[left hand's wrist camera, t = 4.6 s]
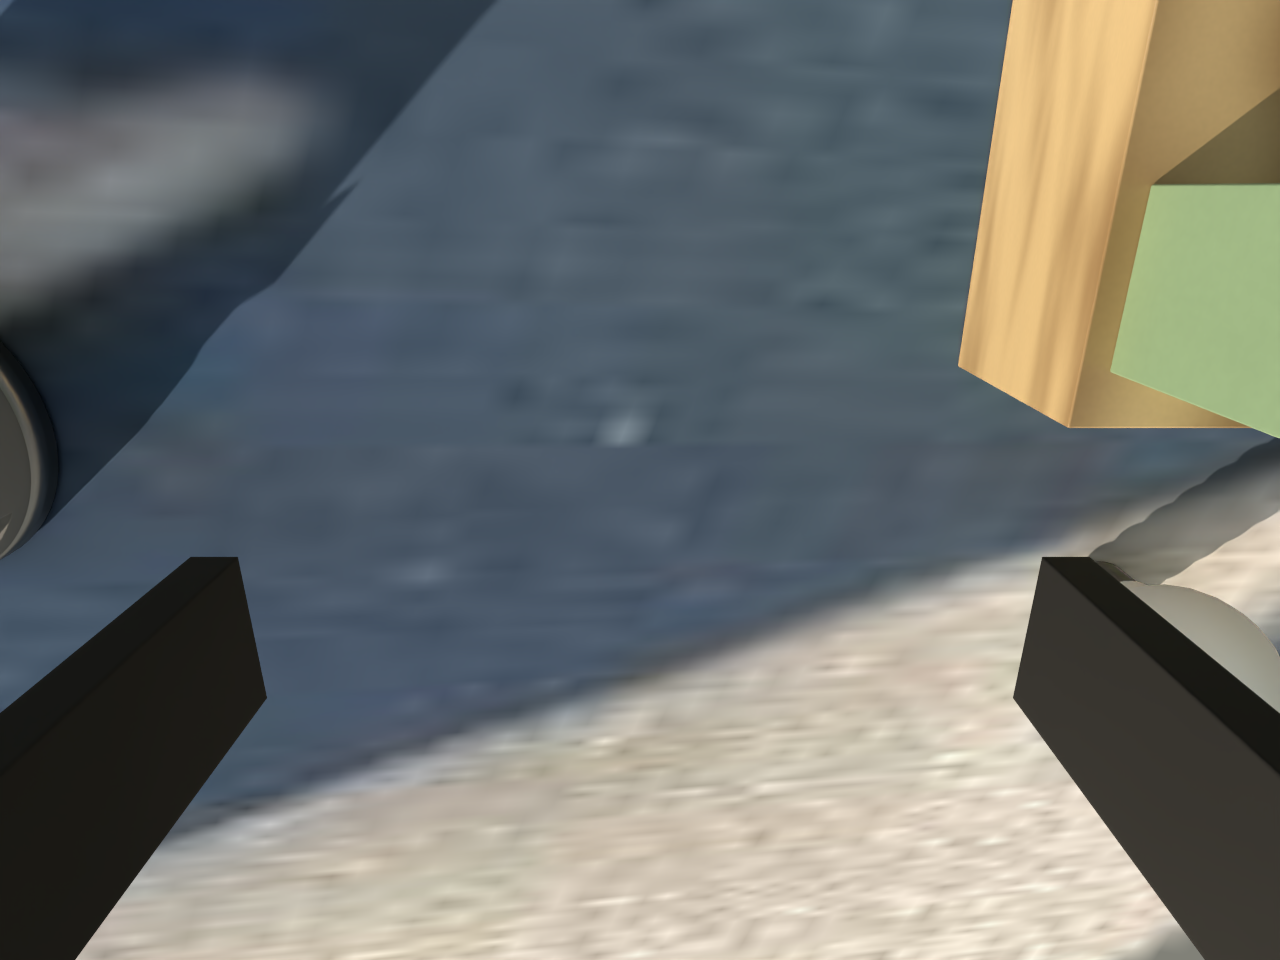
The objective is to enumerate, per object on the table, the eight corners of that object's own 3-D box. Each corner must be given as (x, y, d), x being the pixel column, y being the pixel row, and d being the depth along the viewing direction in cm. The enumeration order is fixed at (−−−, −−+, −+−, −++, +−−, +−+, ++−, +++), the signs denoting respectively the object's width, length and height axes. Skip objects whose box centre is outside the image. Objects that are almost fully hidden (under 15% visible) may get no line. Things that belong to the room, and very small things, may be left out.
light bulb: (1004, 603, 41) (1128, 744, 30) (1103, 509, 39) (1272, 626, 28) (1089, 668, 42) (1235, 824, 32) (1189, 581, 40) (1379, 717, 30)
